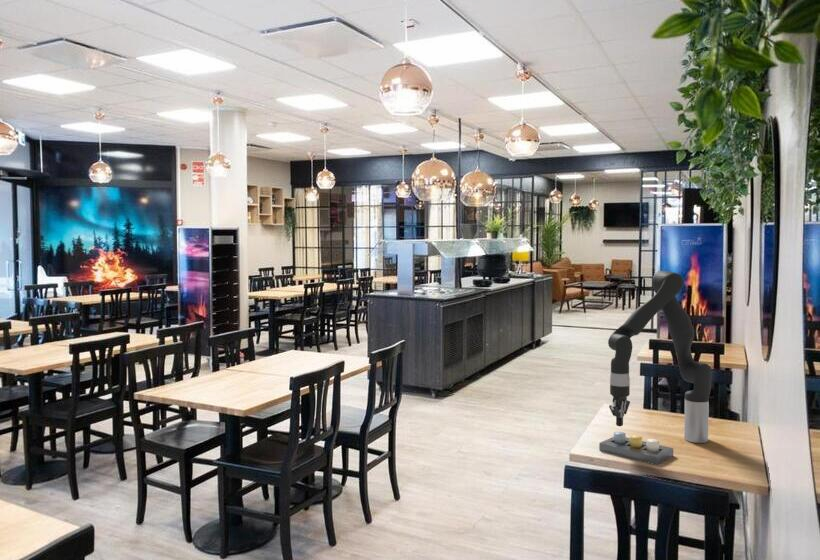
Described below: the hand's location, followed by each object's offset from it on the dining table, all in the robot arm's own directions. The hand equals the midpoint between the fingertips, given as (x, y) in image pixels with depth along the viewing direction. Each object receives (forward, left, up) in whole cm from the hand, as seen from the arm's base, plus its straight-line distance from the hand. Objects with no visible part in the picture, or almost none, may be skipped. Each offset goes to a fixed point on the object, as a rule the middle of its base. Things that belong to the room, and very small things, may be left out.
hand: (619, 425), depth 258 cm
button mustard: (0, +7, -7) cm, 10 cm away
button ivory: (0, +14, -7) cm, 16 cm away
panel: (0, +7, -10) cm, 12 cm away
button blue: (0, 0, -7) cm, 7 cm away
